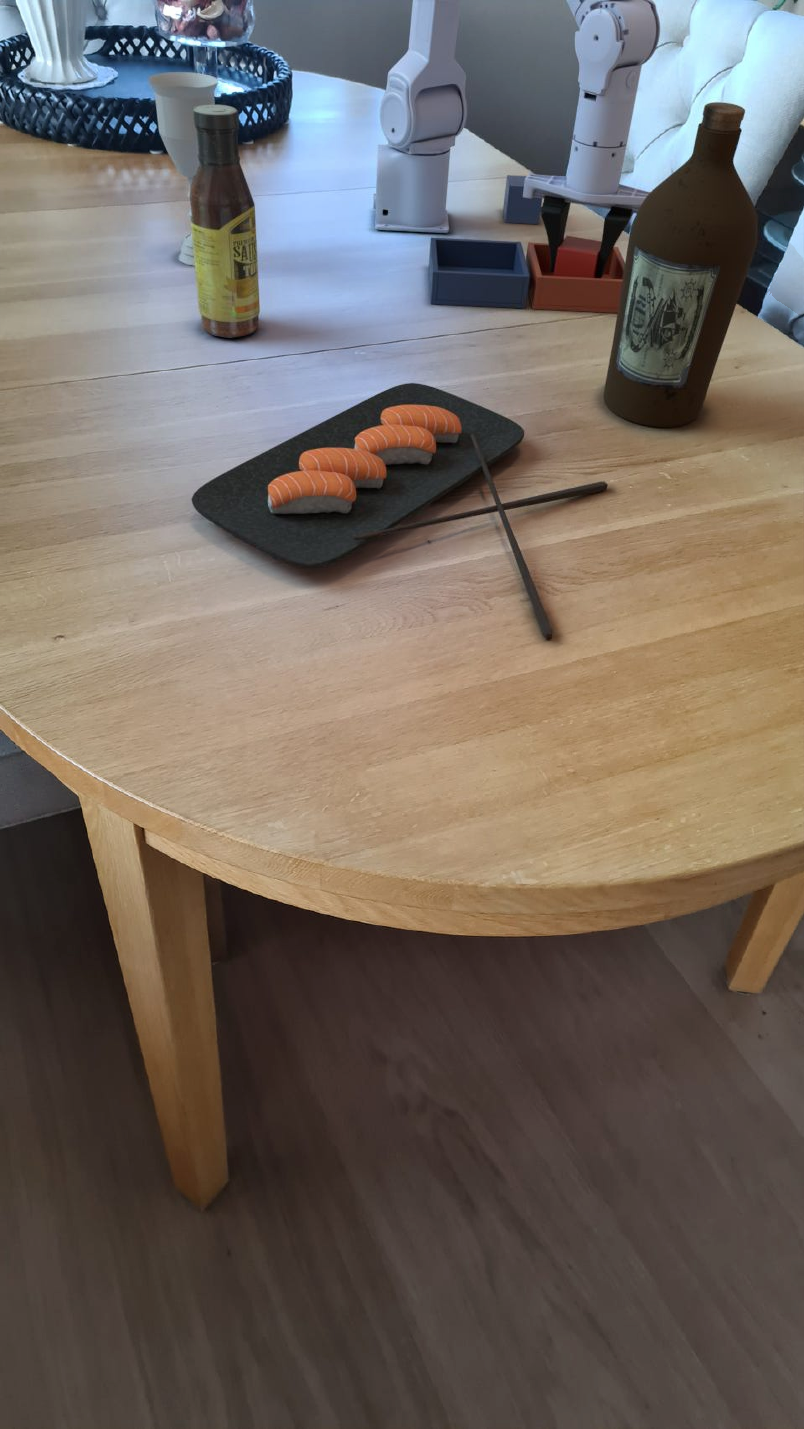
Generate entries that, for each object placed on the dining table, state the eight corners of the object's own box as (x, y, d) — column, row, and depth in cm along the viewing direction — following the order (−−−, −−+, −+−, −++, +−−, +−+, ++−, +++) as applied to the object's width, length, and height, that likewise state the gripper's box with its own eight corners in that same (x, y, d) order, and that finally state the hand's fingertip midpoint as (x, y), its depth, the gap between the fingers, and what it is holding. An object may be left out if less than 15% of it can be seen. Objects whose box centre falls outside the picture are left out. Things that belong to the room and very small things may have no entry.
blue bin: (430, 304, 108) (432, 272, 105) (428, 268, 115) (430, 237, 113) (525, 308, 108) (529, 276, 106) (517, 272, 116) (521, 242, 113)
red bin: (532, 309, 108) (537, 277, 106) (523, 273, 116) (528, 242, 113) (626, 313, 108) (633, 282, 106) (612, 277, 116) (618, 246, 114)
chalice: (237, 250, 116) (224, 75, 104) (224, 271, 111) (209, 90, 99) (177, 245, 117) (157, 70, 104) (162, 265, 112) (139, 85, 99)
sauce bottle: (250, 344, 98) (235, 122, 84) (191, 336, 99) (167, 115, 85) (269, 319, 103) (258, 104, 89) (213, 311, 103) (194, 97, 89)
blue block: (505, 222, 128) (509, 185, 125) (502, 211, 131) (506, 175, 128) (538, 224, 128) (544, 187, 125) (535, 213, 131) (540, 176, 128)
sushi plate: (409, 395, 92) (411, 356, 89) (691, 516, 79) (703, 475, 77) (177, 518, 76) (171, 475, 73) (485, 696, 63) (492, 653, 60)
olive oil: (618, 369, 98) (681, 83, 80) (720, 398, 95) (808, 105, 77) (579, 411, 91) (638, 108, 74) (687, 443, 88) (775, 134, 70)
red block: (551, 289, 110) (557, 248, 107) (560, 275, 114) (566, 235, 110) (590, 296, 110) (597, 254, 106) (597, 282, 113) (605, 241, 109)
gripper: (674, 140, 102) (645, 272, 112) (541, 121, 105) (524, 251, 115) (664, 158, 97) (635, 294, 107) (525, 137, 100) (509, 271, 110)
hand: (577, 273), depth 111 cm, fingers closed on red block, 4 cm apart
